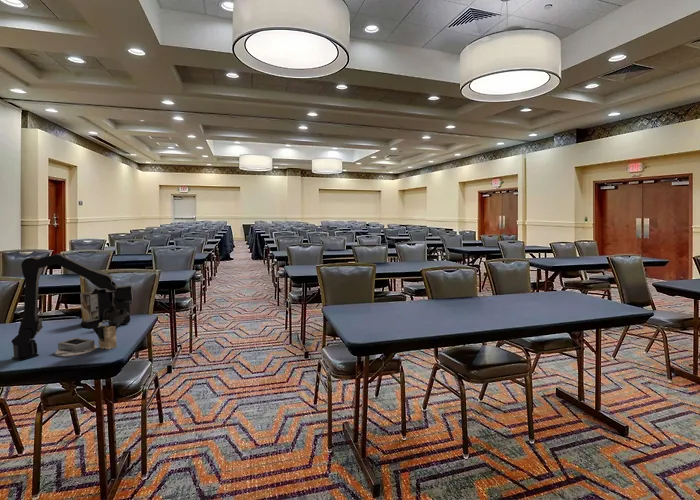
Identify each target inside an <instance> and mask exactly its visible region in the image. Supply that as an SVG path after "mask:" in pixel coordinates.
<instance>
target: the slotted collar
mask: <svg viewBox="0 0 700 500" xmlns="http://www.w3.org/2000/svg"><path fill="white" fill-rule="evenodd" d="M97 349H98V345H97V344H95V339H94V340H93V339H89V338H82V337H75V338H71V339H67V340H63V341H59V342H57V349H56V351H54V354H55V356H57V357H64V358H65V357H74V356H81V355H85V354H89V353H91V352H94V351H96V350H97Z"/></svg>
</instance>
